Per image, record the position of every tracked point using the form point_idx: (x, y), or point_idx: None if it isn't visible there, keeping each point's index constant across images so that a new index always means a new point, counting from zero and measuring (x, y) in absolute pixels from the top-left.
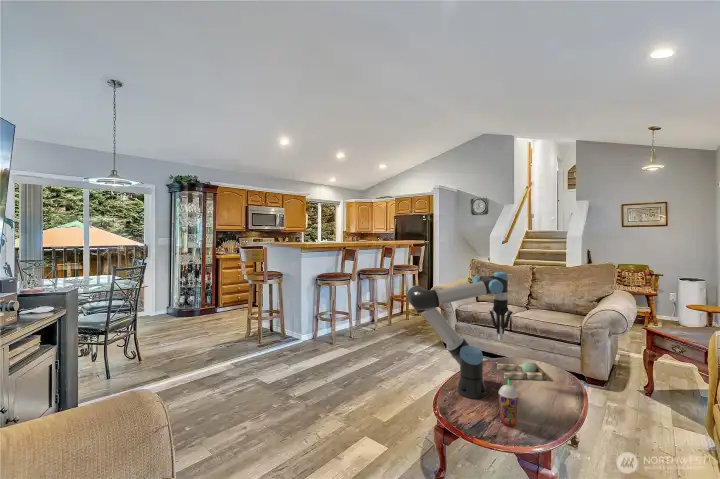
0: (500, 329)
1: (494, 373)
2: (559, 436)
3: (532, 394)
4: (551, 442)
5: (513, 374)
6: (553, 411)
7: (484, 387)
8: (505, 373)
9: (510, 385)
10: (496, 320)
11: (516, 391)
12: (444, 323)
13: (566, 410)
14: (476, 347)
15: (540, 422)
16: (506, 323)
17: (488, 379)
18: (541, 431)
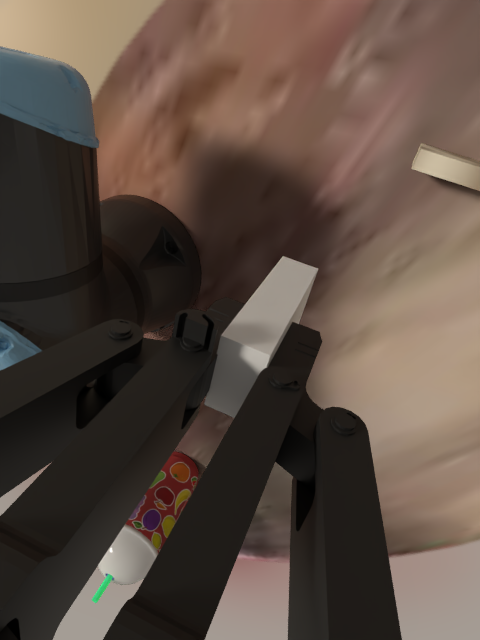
0: (220, 402)
1: (404, 45)
2: (281, 556)
3: (416, 374)
4: (242, 556)
5: (476, 188)
6: (381, 491)
7: (164, 324)
8: (420, 165)
9: (119, 577)
10: (93, 421)
11: (143, 578)
12: None
13: (442, 509)
14: (1, 360)
15: (278, 504)
16: (295, 543)
17: (294, 145)
18: (249, 526)
